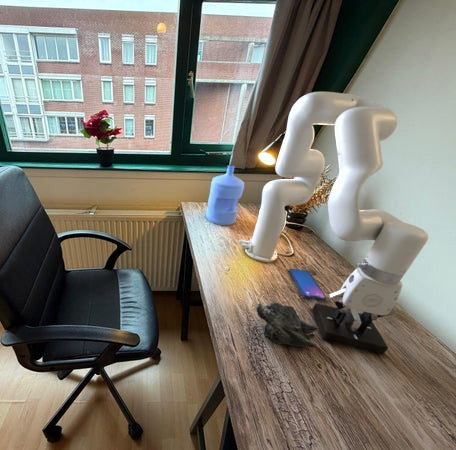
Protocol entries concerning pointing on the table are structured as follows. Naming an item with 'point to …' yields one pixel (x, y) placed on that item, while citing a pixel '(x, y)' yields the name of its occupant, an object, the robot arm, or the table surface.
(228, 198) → the water jug
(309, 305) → the table surface
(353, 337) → the plate
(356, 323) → the tap handle
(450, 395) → the table surface
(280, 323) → the mineral specimen
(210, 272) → the table surface
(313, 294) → the smartphone
